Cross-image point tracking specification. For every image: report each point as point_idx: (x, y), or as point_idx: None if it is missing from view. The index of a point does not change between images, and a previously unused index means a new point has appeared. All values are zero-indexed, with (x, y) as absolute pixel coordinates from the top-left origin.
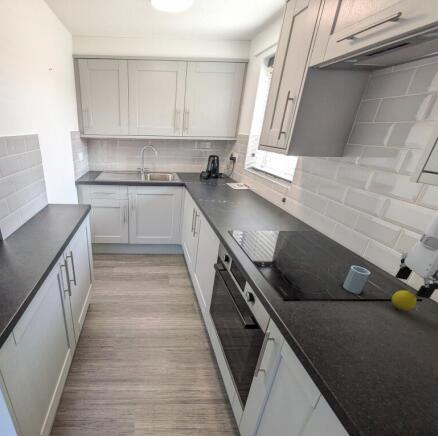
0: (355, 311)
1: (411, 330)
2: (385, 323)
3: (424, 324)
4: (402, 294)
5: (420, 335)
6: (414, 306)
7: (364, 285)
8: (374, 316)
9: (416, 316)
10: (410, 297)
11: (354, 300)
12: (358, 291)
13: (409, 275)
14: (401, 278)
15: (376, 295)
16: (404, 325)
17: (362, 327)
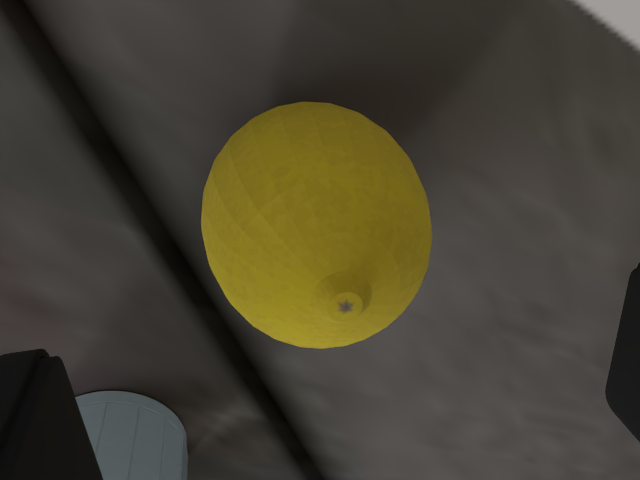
0: (454, 469)
1: (583, 192)
2: (539, 338)
3: (474, 19)
4: (368, 336)
5: (630, 151)
6: (387, 132)
7: (134, 473)
8: (476, 381)
9: (354, 26)
10: (419, 274)
11: (309, 454)
12: (180, 443)
13: (13, 450)
14: (85, 442)
15: (103, 276)
16: (532, 217)
17: (603, 462)
